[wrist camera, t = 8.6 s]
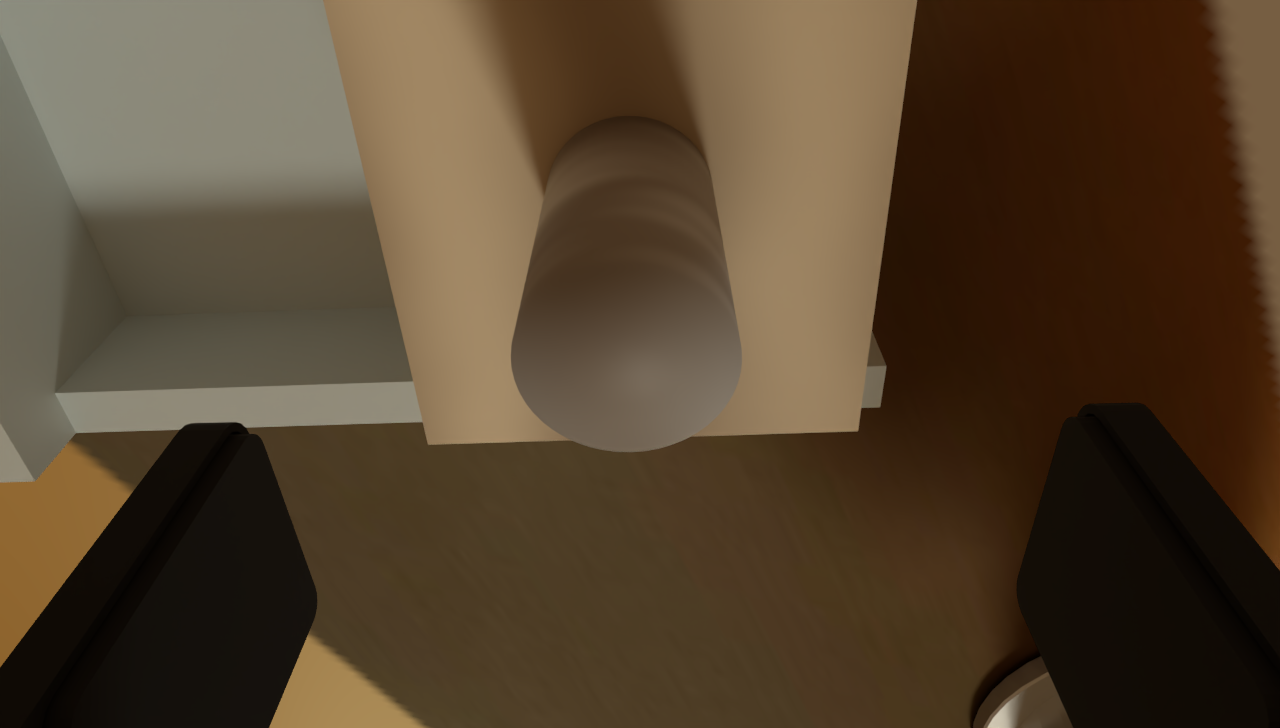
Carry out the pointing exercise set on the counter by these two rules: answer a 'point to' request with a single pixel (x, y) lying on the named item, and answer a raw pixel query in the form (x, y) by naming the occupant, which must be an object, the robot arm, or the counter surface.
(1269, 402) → the counter surface
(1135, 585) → the robot arm
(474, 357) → the wooden block with knob
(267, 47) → the bay
